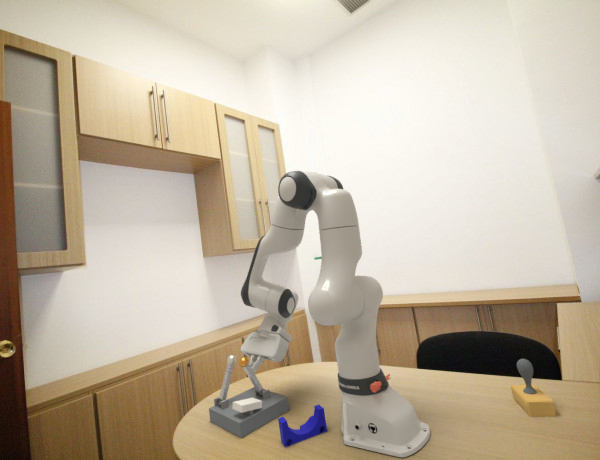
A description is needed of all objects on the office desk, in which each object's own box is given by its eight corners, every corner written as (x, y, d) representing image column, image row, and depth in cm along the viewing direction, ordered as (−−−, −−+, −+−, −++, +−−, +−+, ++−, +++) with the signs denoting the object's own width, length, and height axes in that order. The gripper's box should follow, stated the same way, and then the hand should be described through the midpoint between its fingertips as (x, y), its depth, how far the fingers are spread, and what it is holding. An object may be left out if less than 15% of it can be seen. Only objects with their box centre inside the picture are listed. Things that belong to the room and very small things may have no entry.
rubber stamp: (513, 398, 86) (503, 353, 87) (536, 397, 85) (527, 352, 86) (530, 417, 77) (519, 366, 78) (557, 416, 75) (545, 365, 77)
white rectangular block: (262, 407, 93) (262, 400, 94) (241, 412, 89) (242, 405, 89) (252, 404, 97) (252, 397, 97) (232, 408, 92) (232, 401, 93)
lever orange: (269, 392, 103) (247, 355, 100) (263, 399, 101) (240, 362, 98) (263, 390, 105) (242, 354, 102) (257, 397, 103) (235, 361, 100)
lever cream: (227, 406, 100) (238, 356, 105) (219, 406, 98) (231, 354, 104) (222, 404, 102) (234, 355, 108) (214, 404, 100) (226, 353, 106)
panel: (289, 409, 99) (286, 389, 100) (241, 438, 87) (238, 414, 88) (256, 398, 112) (254, 380, 113) (210, 421, 100) (207, 401, 100)
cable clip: (320, 424, 88) (317, 402, 89) (327, 431, 84) (323, 408, 85) (279, 439, 84) (276, 416, 84) (285, 448, 79) (281, 423, 80)
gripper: (248, 325, 116) (228, 361, 108) (283, 328, 101) (263, 370, 93) (259, 334, 118) (241, 370, 111) (296, 338, 104) (277, 380, 96)
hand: (251, 370), depth 102 cm, fingers closed, pressing on lever orange
